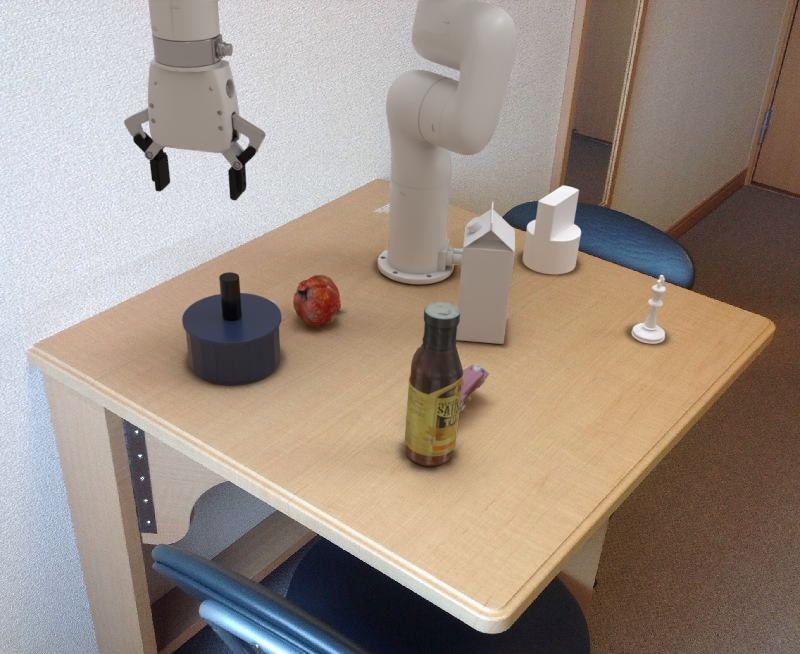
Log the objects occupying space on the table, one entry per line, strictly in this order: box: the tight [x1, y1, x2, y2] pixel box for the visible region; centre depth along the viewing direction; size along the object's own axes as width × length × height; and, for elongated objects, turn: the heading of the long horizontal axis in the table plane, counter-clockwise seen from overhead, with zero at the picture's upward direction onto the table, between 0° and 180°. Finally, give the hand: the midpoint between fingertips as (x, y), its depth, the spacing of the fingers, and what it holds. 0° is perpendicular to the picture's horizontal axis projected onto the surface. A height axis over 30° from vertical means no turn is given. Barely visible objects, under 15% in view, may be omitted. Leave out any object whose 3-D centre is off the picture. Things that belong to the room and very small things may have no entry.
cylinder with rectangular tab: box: [522, 184, 582, 275], centre depth 153 cm, size 9×9×12 cm
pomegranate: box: [292, 274, 342, 328], centre depth 136 cm, size 7×7×10 cm
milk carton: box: [456, 201, 516, 345], centre depth 131 cm, size 7×7×19 cm
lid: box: [181, 271, 283, 346], centre depth 122 cm, size 13×13×7 cm
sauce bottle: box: [404, 301, 464, 467], centre depth 107 cm, size 6×6×20 cm
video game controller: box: [459, 363, 490, 413], centre depth 119 cm, size 10×5×7 cm, turn 148°
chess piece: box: [631, 274, 667, 345], centre depth 135 cm, size 5×5×10 cm
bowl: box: [185, 326, 281, 386], centre depth 126 cm, size 12×13×6 cm
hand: (199, 191), depth 115 cm, fingers open, 9 cm apart
